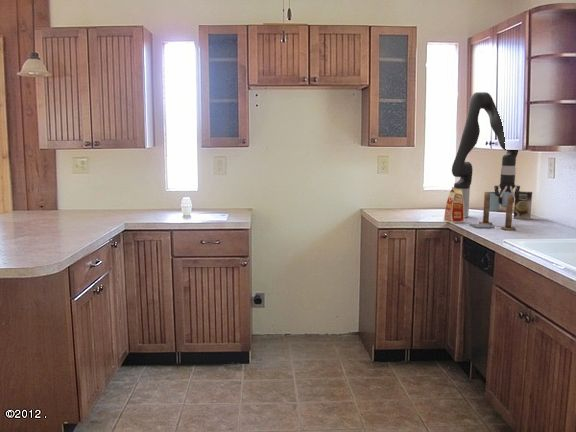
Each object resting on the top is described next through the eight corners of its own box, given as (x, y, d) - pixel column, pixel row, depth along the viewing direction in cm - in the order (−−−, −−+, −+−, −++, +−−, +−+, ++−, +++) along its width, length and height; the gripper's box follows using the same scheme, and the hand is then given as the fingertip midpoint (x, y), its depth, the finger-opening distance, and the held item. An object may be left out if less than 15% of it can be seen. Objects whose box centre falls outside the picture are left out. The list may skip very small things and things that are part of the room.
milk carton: (451, 223, 318) (453, 187, 315) (443, 220, 326) (444, 186, 324) (466, 222, 320) (467, 187, 317) (457, 220, 329) (458, 185, 326)
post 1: (477, 223, 316) (478, 191, 313) (489, 223, 316) (491, 191, 314) (481, 225, 309) (483, 192, 306) (494, 225, 309) (496, 192, 307)
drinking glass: (501, 210, 370) (502, 192, 368) (498, 212, 362) (499, 193, 360) (485, 209, 375) (486, 191, 374) (482, 211, 367) (483, 192, 365)
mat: (469, 225, 309) (469, 223, 309) (487, 225, 310) (487, 223, 310) (476, 228, 300) (476, 226, 299) (494, 228, 300) (494, 226, 300)
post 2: (498, 228, 300) (500, 194, 298) (511, 228, 300) (514, 194, 298) (504, 230, 293) (506, 196, 291) (517, 230, 294) (519, 196, 291)
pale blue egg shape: (498, 205, 317) (499, 191, 316) (508, 205, 318) (509, 191, 316) (502, 207, 312) (503, 193, 311) (512, 207, 312) (513, 193, 311)
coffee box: (513, 218, 334) (514, 191, 332) (514, 217, 340) (516, 190, 338) (529, 219, 330) (531, 192, 328) (530, 218, 336) (532, 191, 333)
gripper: (517, 173, 316) (515, 203, 318) (492, 173, 315) (490, 203, 318) (523, 174, 308) (521, 205, 311) (497, 174, 308) (495, 204, 311)
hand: (505, 203), depth 314 cm, fingers closed on pale blue egg shape, 5 cm apart
